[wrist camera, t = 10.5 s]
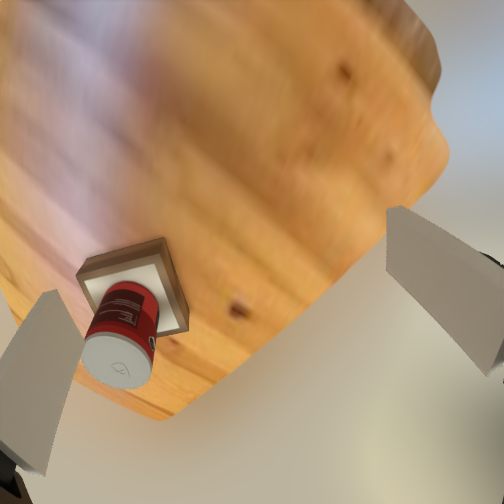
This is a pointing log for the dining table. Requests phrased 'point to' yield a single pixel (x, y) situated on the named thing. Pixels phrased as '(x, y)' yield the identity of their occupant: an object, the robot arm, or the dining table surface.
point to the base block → (139, 281)
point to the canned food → (122, 337)
